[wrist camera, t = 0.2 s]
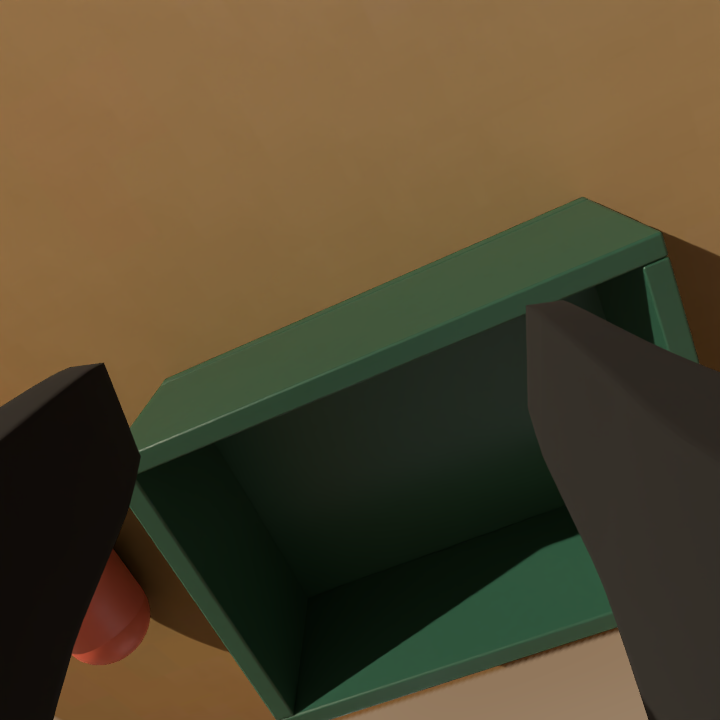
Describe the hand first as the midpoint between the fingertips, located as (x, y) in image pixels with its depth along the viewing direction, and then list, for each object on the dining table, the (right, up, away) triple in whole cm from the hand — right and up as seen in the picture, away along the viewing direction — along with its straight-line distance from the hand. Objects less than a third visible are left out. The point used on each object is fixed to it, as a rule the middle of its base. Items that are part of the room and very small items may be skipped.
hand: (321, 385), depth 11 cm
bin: (+3, -2, +11) cm, 11 cm away
